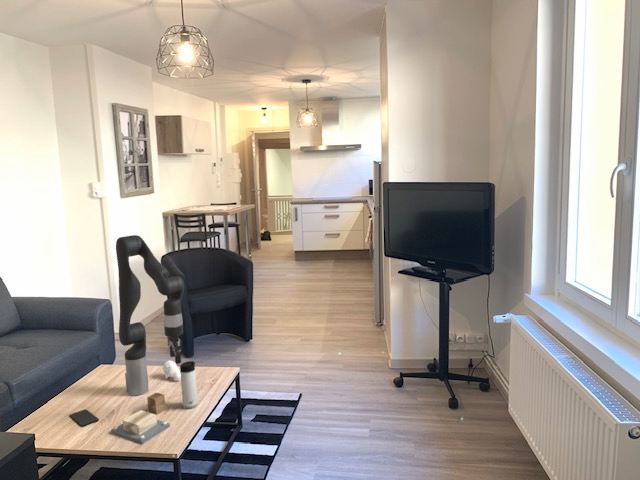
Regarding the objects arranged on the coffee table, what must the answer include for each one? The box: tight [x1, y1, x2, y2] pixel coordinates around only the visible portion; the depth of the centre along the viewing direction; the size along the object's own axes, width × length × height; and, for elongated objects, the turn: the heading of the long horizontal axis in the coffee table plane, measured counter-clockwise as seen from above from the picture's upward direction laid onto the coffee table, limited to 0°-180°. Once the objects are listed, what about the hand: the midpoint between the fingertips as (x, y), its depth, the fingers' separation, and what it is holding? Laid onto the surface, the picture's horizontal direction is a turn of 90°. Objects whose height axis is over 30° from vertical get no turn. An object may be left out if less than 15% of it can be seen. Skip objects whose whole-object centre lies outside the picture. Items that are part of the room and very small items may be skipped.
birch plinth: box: [122, 409, 158, 435], centre depth 192 cm, size 9×9×4 cm
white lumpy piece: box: [162, 360, 181, 382], centre depth 240 cm, size 6×8×12 cm
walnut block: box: [146, 392, 166, 416], centre depth 207 cm, size 5×5×7 cm
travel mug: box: [179, 360, 198, 410], centre depth 210 cm, size 6×7×20 cm
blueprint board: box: [110, 419, 171, 445], centre depth 192 cm, size 18×14×2 cm
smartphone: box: [68, 409, 100, 428], centre depth 203 cm, size 7×1×15 cm
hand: (175, 359), depth 205 cm, fingers open, 8 cm apart
